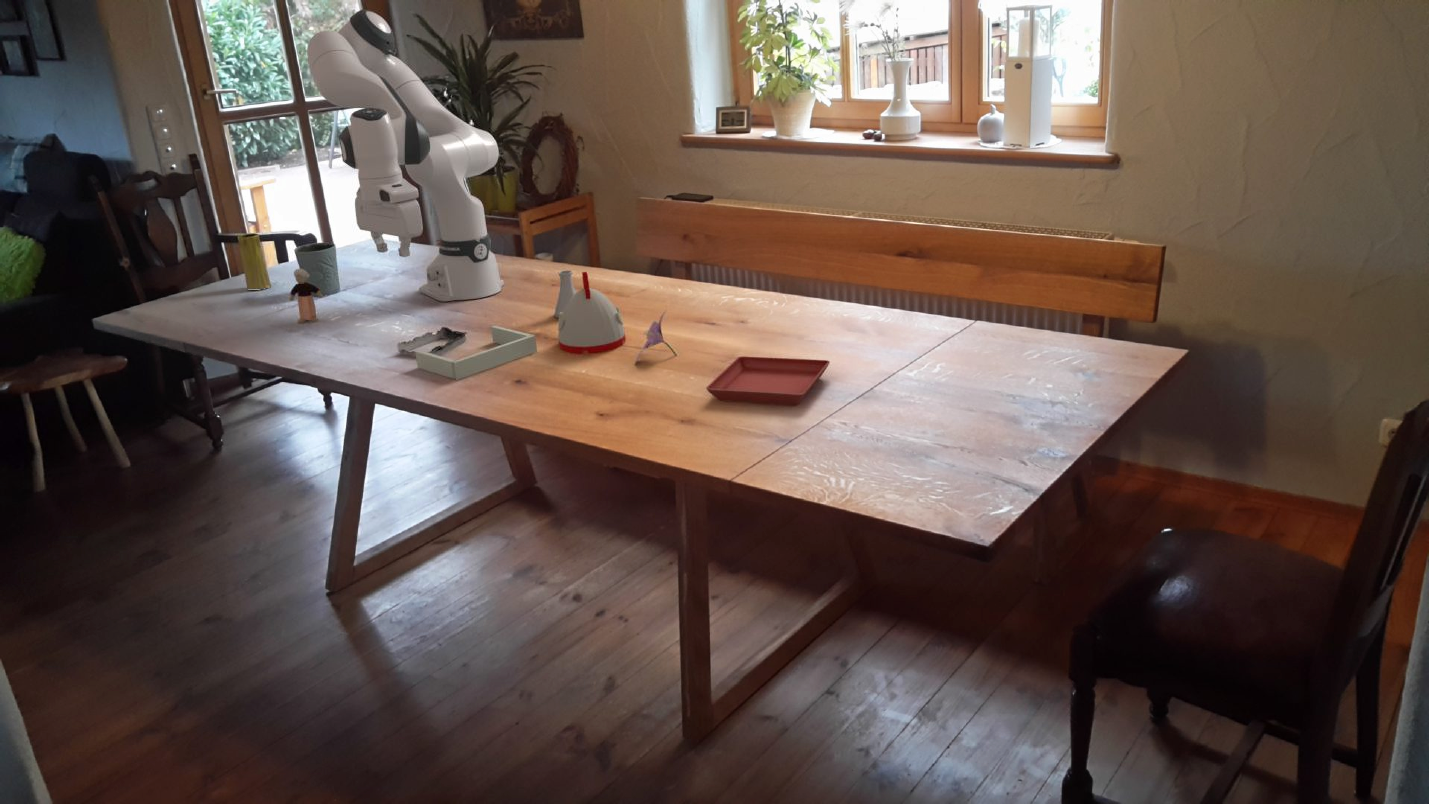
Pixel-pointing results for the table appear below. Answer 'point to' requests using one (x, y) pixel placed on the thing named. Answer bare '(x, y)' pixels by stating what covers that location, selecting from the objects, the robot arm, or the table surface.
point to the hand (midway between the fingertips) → (393, 254)
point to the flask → (564, 291)
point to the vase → (253, 261)
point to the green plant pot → (320, 266)
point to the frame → (481, 355)
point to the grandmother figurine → (305, 296)
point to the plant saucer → (767, 380)
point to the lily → (654, 336)
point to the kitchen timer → (590, 323)
